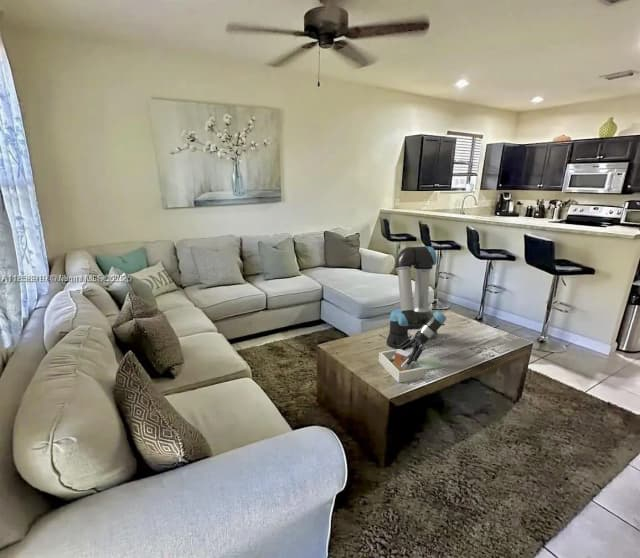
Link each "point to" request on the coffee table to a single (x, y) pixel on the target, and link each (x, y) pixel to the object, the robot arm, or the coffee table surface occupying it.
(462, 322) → the coffee table surface
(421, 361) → the sage pad
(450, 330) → the coffee table surface
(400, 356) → the small box
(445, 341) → the coffee table surface
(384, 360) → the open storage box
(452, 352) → the coffee table surface
